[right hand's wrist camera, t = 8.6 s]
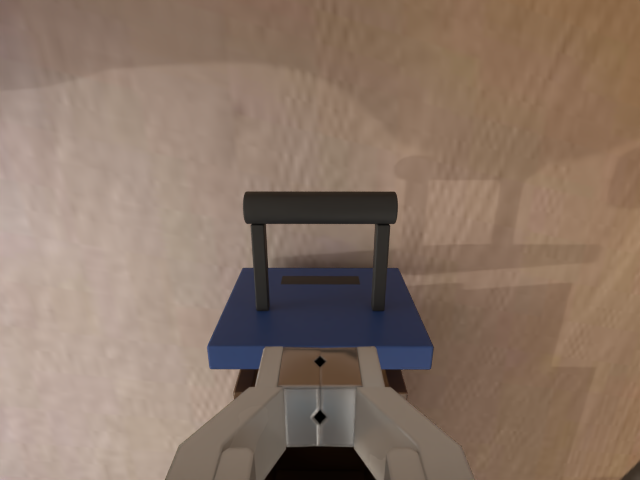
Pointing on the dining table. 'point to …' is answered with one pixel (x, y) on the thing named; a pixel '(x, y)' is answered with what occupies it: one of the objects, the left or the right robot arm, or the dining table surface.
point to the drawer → (320, 311)
